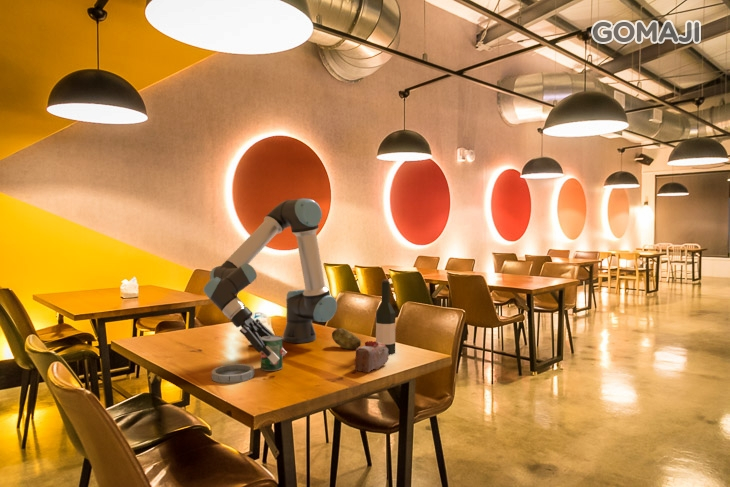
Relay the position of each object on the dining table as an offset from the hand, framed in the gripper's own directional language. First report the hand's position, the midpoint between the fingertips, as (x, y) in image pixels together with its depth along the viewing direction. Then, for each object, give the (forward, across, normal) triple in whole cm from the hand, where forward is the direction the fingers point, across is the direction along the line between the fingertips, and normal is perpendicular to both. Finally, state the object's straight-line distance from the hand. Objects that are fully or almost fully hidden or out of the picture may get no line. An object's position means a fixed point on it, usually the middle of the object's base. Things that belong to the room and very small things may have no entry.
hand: (280, 358), depth 168 cm
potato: (+16, -34, +10) cm, 38 cm away
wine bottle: (+28, -28, +22) cm, 46 cm away
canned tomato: (0, 0, -5) cm, 5 cm away
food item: (+26, -6, +20) cm, 33 cm away
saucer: (-7, +11, -12) cm, 18 cm away
